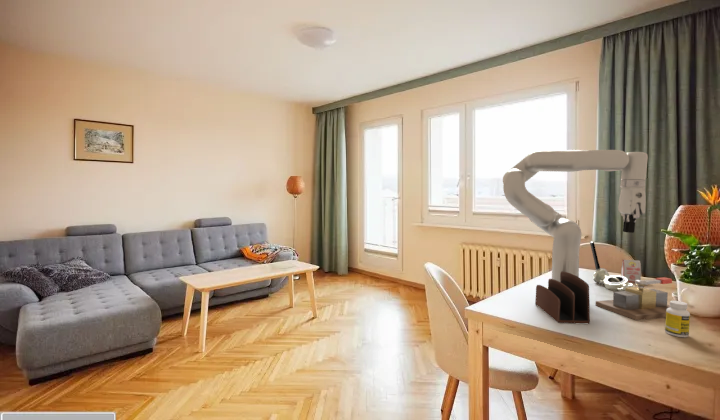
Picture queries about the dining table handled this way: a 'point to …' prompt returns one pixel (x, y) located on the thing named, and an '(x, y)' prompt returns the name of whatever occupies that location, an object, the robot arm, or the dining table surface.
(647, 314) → the board
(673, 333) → the supplement bottle
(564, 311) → the letter holder
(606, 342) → the dining table surface
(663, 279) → the valve lever
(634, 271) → the printed carton box
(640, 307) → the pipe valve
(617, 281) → the butterfly valve
